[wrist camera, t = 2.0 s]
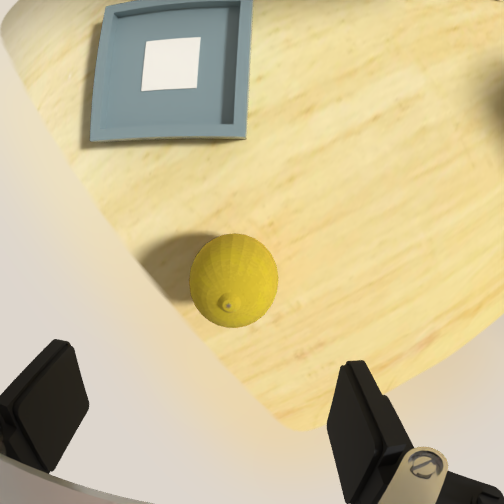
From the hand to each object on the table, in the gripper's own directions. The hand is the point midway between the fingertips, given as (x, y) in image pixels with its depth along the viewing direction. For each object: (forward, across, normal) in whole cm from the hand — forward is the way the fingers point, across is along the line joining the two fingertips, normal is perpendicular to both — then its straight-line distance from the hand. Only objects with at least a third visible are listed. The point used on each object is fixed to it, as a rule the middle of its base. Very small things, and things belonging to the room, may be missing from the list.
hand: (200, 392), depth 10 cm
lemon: (+15, -1, 0) cm, 15 cm away
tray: (+15, +5, -15) cm, 21 cm away
